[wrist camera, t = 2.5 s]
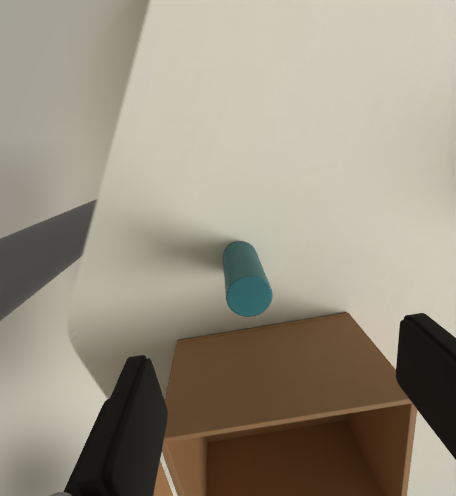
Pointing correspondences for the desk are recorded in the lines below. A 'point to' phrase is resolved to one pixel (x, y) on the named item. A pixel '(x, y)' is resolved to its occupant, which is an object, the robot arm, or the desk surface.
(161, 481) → the flap
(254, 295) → the teal cylinder
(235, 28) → the desk surface
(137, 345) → the desk surface
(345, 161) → the desk surface
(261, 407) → the carton
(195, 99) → the desk surface
